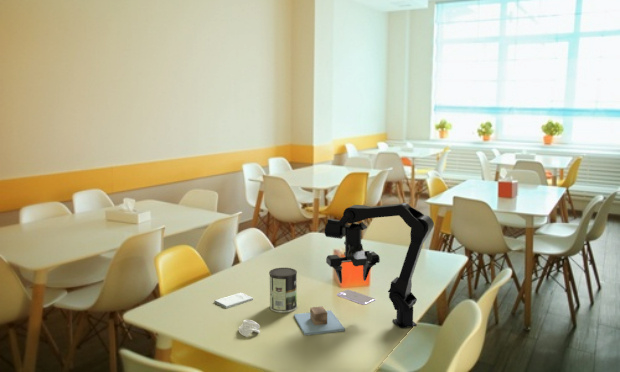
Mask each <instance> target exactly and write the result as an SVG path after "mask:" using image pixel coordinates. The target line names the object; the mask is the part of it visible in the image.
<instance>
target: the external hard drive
mask: <svg viewBox="0 0 620 372" xmlns="http://www.w3.org/2000/svg"><path fill="white" fill-rule="evenodd" d="M251 301H254V297H252V296H250V295H247V294H246V293H243V292H238V293H234V294H231V295H229V296H225V297H221V298H218V299H215V300H214V301H213V302H214V303H215V304H217V305H218V306H219V307H223V308H225V309H229V308H232V307H235V306H238V305H239V306H240V305H241V304H244V303H248V302H251Z"/></svg>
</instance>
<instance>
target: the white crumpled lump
mask: <svg viewBox="0 0 620 372" xmlns="http://www.w3.org/2000/svg"><path fill="white" fill-rule="evenodd" d="M238 332H239V333H240V335H241V336H243V337H247V338H248V337H249V335H250V334H251V333H253V332H255V333H258V334H260V333H261V331H260V324H259V323H258V322H256V321H254V320H251V319H243V321H242V324H241V325H240V326H239V327H238Z"/></svg>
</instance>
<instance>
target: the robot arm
mask: <svg viewBox="0 0 620 372" xmlns="http://www.w3.org/2000/svg"><path fill="white" fill-rule="evenodd" d="M388 217H389V218H390V217H400V218H401V219H402V220H403V221H404V223H405V224H406V225H407V226H408V227H409V228H410V235H409V236H410V243H409V246H408V248H407V252H406V255H405V258H404V261H403V263H402V267H401V270H400V274H399V276H396V277H395V278H394V279H393V280H392V281H391V282H390V286H389V287H390V288H389V290H388V291H387V292H388V298H389V300H390V301H391V303H392V305H393V308H394V310H395V311H396V318H393V319H392V322H393V323H394V324H395V325H396V326H397V327H398V328H399V329H402V328H403V329H404V328H413V327H417V326H418V325H417V323H416V322H415V321H414V305H415V304H416V302H417V297H416V296H415V295H414V294H413V292H412V287H413V286H412V278H413V275H414V272H415V270H416V266H417V263H418V260H419V257H420V254H421V251H422V249H423V247H424V243H425V241H426V240H427V239H428V237H429V235H430V234H431V232H432V230H433V229H434V225H435V223H434V220H433V219H432V218H431V217H430V216H428V215H425V214H424V213H423V212H421V211H420V210H417V208H414V207H412V206H411V205H410V204H409V203H406V202H402V203H396V204H384V205H376V206H375V205H374V206H373V205H372V206H368V205H364V204H353V205H351V206H349V207H346V208H345V210H344V211H343V215H342V217H341V218H340V219H335V218H328V219H327V222H326V224H325V227H324V235H325V237H326V238H332V239H339V240H341V239H343V238H345V240H344V242H343V244H344V247H345V248H344V251H343V255H344V256H342V257H341V256H339V255H338V254H330V255H328V254H327V256H326V262H325V263H326V264H327V265H328V266H329V267H330V268H332V269H334V272H335V273H336V276H337V279H338V281H339V283H340V284H342V283H343V273H342V269H343V266H342V264H343V263H352V266H354V267H359V266H360V267H362V277H363V281H364V282H366V281H367V278H368V276H369V273H370V270H371V269H372V268H373V266H376V265H377V264H379V263H380V262H381V260H380V255H379V254H377V253H376V252H374V251H371V250H364V248H363V247H364V246H363V243H362V231H364V230H366V229H367V228H368V226H367V225H366V224H365V223H364V222H363V221H364V220H368V219H377V218H388Z"/></svg>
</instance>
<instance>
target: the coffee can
mask: <svg viewBox="0 0 620 372" xmlns="http://www.w3.org/2000/svg"><path fill="white" fill-rule="evenodd" d="M297 273H298V271H297V270H296V269H294V268H292V267H275V268H272V269H270V270H269V273H268V274H269V309H270V311H273V312H275V313H282V314H283V313H284V314H286V313H291V312H294V311H295V310H297V308H298V304H297V301H298V299H297V291H298V290H297V282H298V281H297V276H298V275H297Z"/></svg>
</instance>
